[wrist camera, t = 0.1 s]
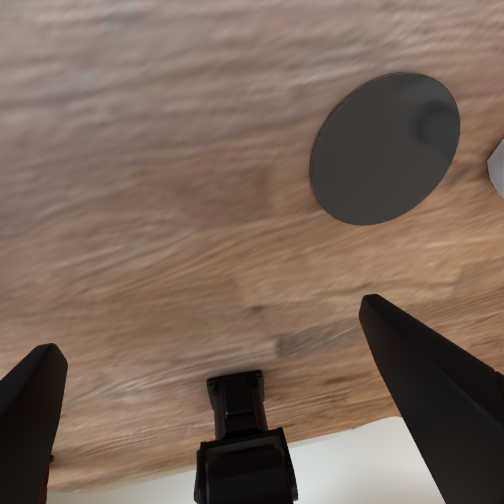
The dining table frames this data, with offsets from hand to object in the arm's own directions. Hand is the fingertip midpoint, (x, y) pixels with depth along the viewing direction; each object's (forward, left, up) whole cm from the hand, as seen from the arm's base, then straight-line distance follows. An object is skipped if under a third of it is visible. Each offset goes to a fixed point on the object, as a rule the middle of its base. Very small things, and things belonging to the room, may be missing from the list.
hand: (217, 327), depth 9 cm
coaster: (-1, -13, -15) cm, 20 cm away
